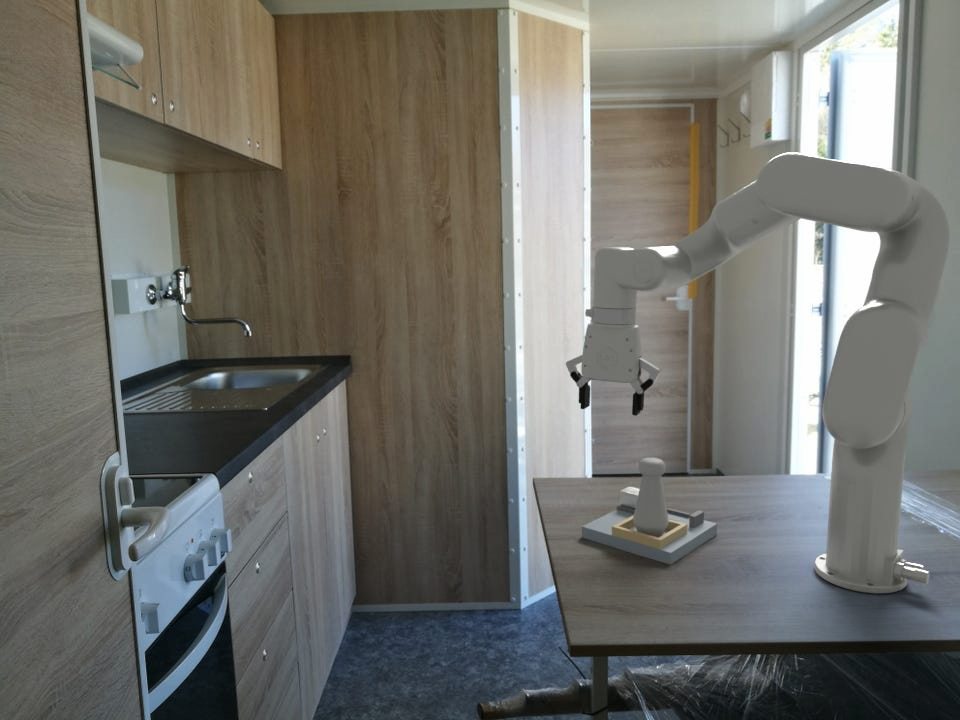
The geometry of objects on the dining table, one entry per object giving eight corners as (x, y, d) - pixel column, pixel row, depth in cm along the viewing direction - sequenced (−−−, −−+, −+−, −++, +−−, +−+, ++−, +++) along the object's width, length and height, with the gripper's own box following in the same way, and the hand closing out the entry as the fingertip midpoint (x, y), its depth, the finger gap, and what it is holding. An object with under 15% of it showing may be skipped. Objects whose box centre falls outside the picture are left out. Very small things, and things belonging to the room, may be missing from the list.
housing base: (716, 534, 130) (717, 512, 129) (670, 564, 118) (671, 540, 118) (631, 511, 142) (632, 491, 141) (581, 537, 130) (582, 515, 129)
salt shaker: (671, 540, 123) (673, 464, 121) (636, 541, 123) (638, 464, 121) (663, 527, 128) (665, 454, 126) (630, 527, 128) (631, 454, 126)
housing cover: (652, 507, 137) (653, 492, 137) (643, 512, 135) (643, 496, 134) (629, 501, 140) (629, 486, 140) (619, 506, 138) (619, 490, 137)
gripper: (560, 316, 133) (558, 409, 136) (657, 322, 125) (652, 421, 128) (575, 312, 140) (572, 401, 143) (667, 318, 132) (662, 412, 135)
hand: (610, 410), depth 136 cm, fingers open, 9 cm apart
